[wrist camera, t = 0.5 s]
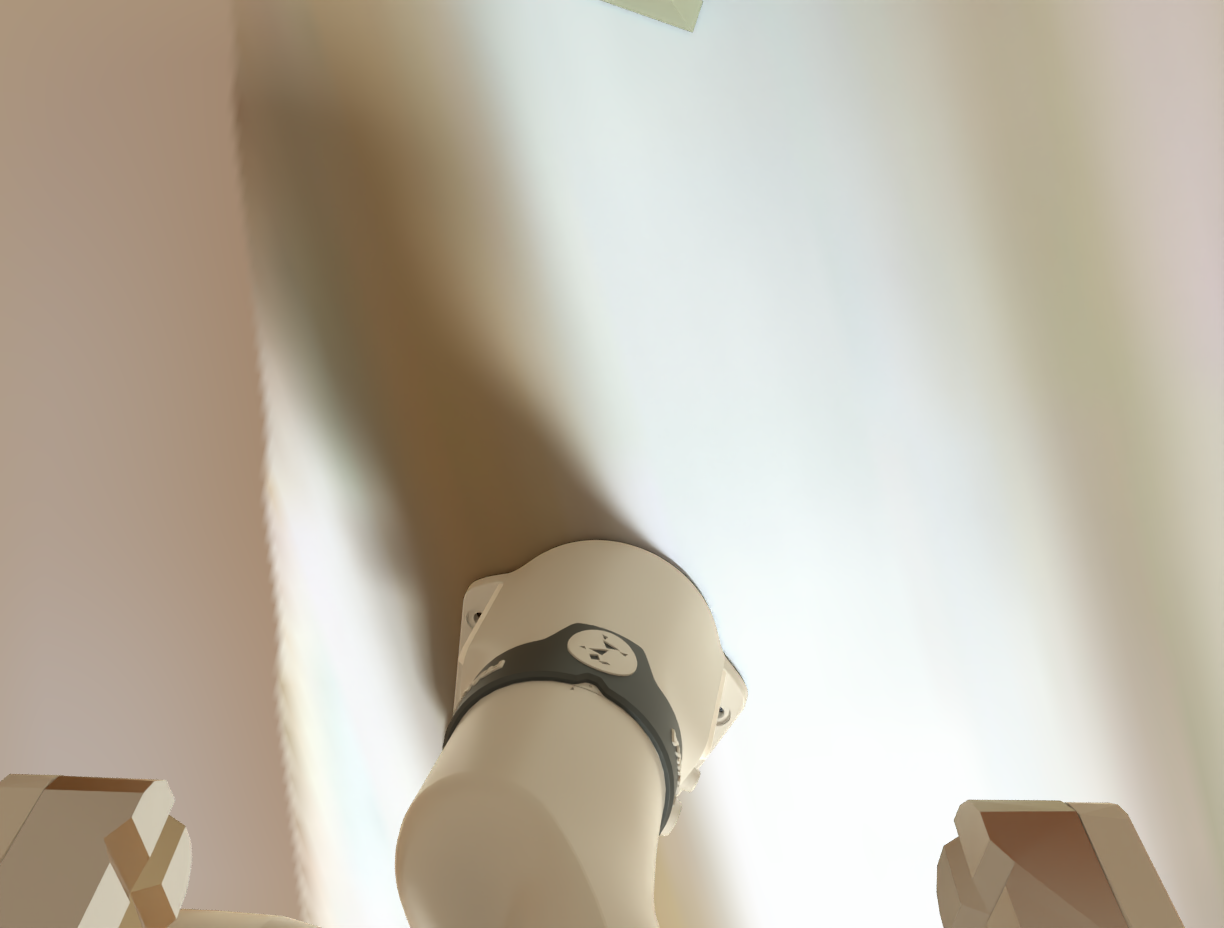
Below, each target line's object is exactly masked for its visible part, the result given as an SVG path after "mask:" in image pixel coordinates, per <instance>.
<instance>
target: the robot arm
mask: <svg viewBox="0 0 1224 928" xmlns="http://www.w3.org/2000/svg"><path fill="white" fill-rule="evenodd" d="M478 612H480V613H482V614H481V616H480V618H479V617H478V616H477V613H478ZM747 697H748V691H747V687H746V685H745V683H744V681H743V679H742V678H741V677H740V675H739V674H738V672H737V671H736V670H735V668H734V667H733V666H732V665H731V663H730V662H729V661H728V660H727V658H726V657H725V655H724V653H723V650H722V647H721V644H720V640H719V636H718V632H717V628H716V625H715V622H714V619H713V616H712V614H711V611H710V609H709V607H708V605H707V604H706V602H705V600H704V598H703V597H702V595H701V594H700V593H699V591H698V590H697V588H696V587H695V586H694V585H693V584H692V583H691V581H690V580H689V579H688V578H687V577H686V576H685V575H684V574H682V573H681V572H680V571H679V570H678V569H677V568H675V567H674V566H673V565H671V564H670V563H668V562H667V561H665V560H664V559H662V558H660V557H659V556H657V555H655V554H653V553H651V552H649V551H646V550H644V549H642V548H639V547H636V546H633V545H629V544H625V543H620V542H615V541H606V540H587V541H578V542H572V543H568V544H564V545H561V546H558V547H555V548H553V549H550V550H548V551H546V552H544V553H542V554H540V555H539V556H537V557H536V558H534V559H533V560H531V561H530V562H528V563H527V564H525V565H524V566H522V567H521V568H519V569H517V570H515V571H513V572H511V573H507V574H500V575H494V576H489V577H485V578H482V579H479V580H476V581H474V582H473V583H472V584H471V585H470V586H469V587H468V589H467V592H466V594H465V596H464V600H463V609H462V620H461V632H460V643H459V654H458V665H457V676H456V687H455V698H454V710H453V714H452V715H453V718H452V720H451V722H450V724H449V726H448V728H447V731H446V734H445V739H444V743H443V751H442V752H441V754H440V756H439V758H438V759H437V761H436V763H435V764H434V766H433V768H432V770H431V771H430V773H429V775H428V776H427V778H426V780H425V782H424V783H423V785H422V787H421V788H420V790H419V792H418V793H417V795H416V797H415V799H414V800H413V802H412V804H411V805H410V807H409V809H408V811H407V813H406V815H405V817H404V819H403V822H402V824H401V828H400V832H399V836H398V839H397V845H396V853H395V875H396V884H397V889H398V893H399V897H400V900H401V903H402V906H403V909H404V912H405V915H406V918H407V920H408V923H409V925H410V928H660V927H659V924H658V921H657V918H656V913H655V907H654V881H655V864H656V854H657V846H658V838H659V835H662V836H667V835H668V834H669V833H670V832H671V831H672V829H673V828H674V826H675V824H676V822H677V820H678V818H679V815H680V812H681V809H682V803H681V802H680V800H678V799H676V798H677V797H678V795H679V794H680V793H681V791H682V790H684V791H687V792H691V791H692V790H693V789H694V788H695V786H696V784H697V782H698V780H699V777H700V771H699V770H698V769H699V768H700V766H701V765H702V764H703V762H704V761H705V760H706V758H707V757H708V756H709V754H710V753H711V752H712V750H713V749H714V748H715V746H716V745H717V744H718V742H719V741H720V740H721V738H722V737H723V736H724V734H725V733H726V732H727V730H728V729H729V728H730V726H731V725H732V724H733V722H734V721H735V720H736V719H737V717H738V716H739V715H740V713H741V712H742V710H743V709H744V707H745V704H746V700H747ZM720 707H721V708H723V711H722V712H719V709H720ZM174 802H175V798H174V796H173V794H172V792H171V789H170V787H169V785H168V783H167V781H166V780H154V779H153V780H152V779H128V778H102V777H76V776H63V775H28V774H9V775H8V776H7V777H6V778H4V779H3V780H2V781H1V782H0V928H321V927H318V926H315V925H312V924H308V923H305V922H302V921H299V920H295V919H292V918H289V917H285V916H277V915H265V914H254V913H242V912H231V911H219V910H196V909H180V908H181V906H182V903H183V900H184V898H185V895H186V892H187V888H188V883H189V877H190V871H191V866H192V850H191V840H190V837H189V835H188V831H187V829H186V826H185V825H183V824H182V823H180V822H179V821H177V820H176V819H174V818H173V817H171V816H170V815H169V813H170V811H171V808H172V806H173V804H174ZM954 822H955V826H956V829H957V832H958V835H959V837H957V838H955V839H954V840H952V841H951V842H949V843H948V844H946V845H944V847H943V850H942V853H941V856H940V859H939V862H938V865H937V898H938V904H939V911H940V916H941V920H942V923H943V927H944V928H1185V927H1184V925H1183V923H1182V921H1181V919H1180V917H1179V915H1178V913H1177V911H1176V909H1175V907H1174V905H1173V903H1172V901H1171V899H1170V897H1169V895H1168V893H1167V891H1166V889H1165V887H1164V885H1163V883H1162V881H1161V879H1160V877H1159V875H1158V873H1157V871H1156V869H1155V867H1154V865H1153V863H1152V862H1151V860H1150V858H1149V856H1148V854H1147V852H1146V850H1145V848H1144V846H1143V844H1142V842H1141V840H1140V838H1139V836H1138V834H1137V832H1136V830H1135V828H1134V826H1133V824H1132V822H1131V820H1130V818H1129V816H1128V814H1127V813H1126V812H1125V811H1124V810H1123V809H1122V808H1121V807H1120V806H1119V805H1117V804H1112V803H1081V802H1062V801H1046V800H967V801H966V802H964V803H963V804H961V805H960V806H959V809H958V811H957V814H956V816H955V818H954Z"/></svg>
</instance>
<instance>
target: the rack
mask: <svg viewBox="0 0 1224 928" xmlns="http://www.w3.org/2000/svg"><path fill="white" fill-rule="evenodd" d="M601 1H604V2H607V3H610V4H613V5H616V6H618V7H621V8H624V9H627V10H630V11H633V12H636V13H638V14H641V15H644V16H647V17H650V18H653V19H656V20H658V21H661V22H664V23H667V24H670V25H673V26H676V27H678V28H681V29H684V30H687V31H690V32H693V30H694V27H695V24H696V21H697V18H698V15H699V12H700V9H701V6H702V3H703V1H702V0H601Z"/></svg>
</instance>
